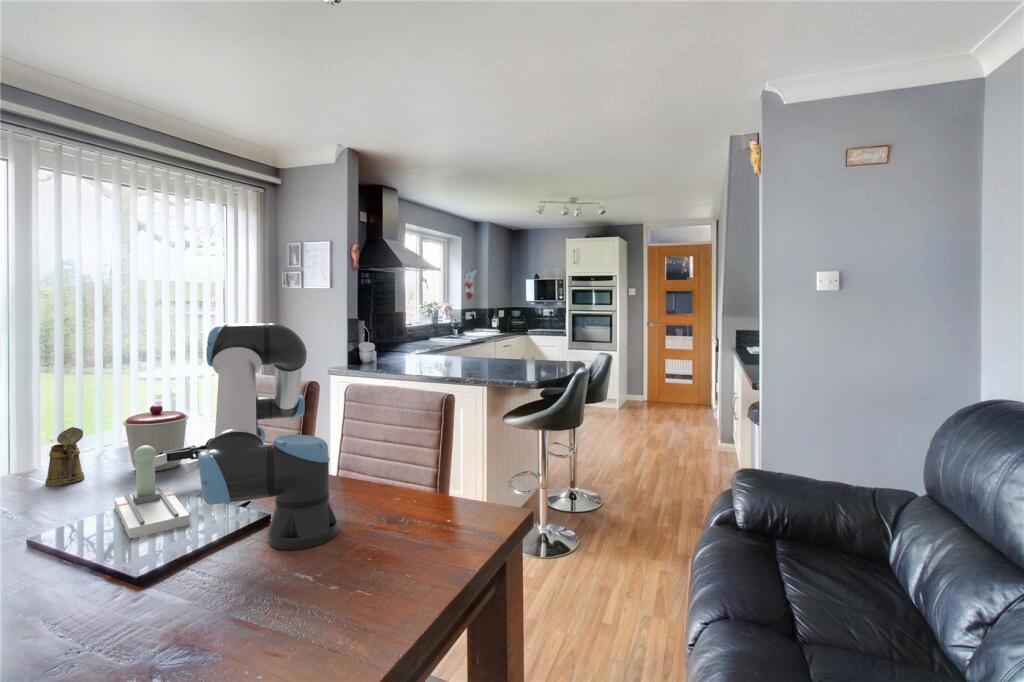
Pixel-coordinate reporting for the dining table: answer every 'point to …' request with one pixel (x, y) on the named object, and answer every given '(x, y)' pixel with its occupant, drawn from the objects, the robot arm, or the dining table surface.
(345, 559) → the dining table surface
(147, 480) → the fader knob
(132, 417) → the canister
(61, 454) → the wooden mug
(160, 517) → the fader console
